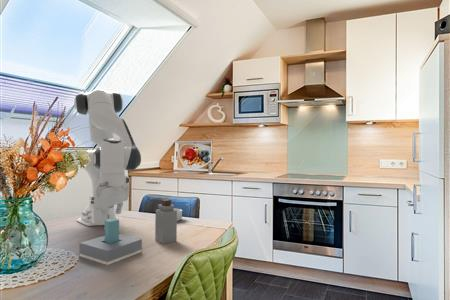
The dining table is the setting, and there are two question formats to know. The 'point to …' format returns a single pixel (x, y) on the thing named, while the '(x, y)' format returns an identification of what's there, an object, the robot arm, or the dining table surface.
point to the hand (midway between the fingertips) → (112, 216)
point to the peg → (111, 231)
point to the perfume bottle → (166, 222)
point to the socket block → (110, 249)
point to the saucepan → (179, 214)
